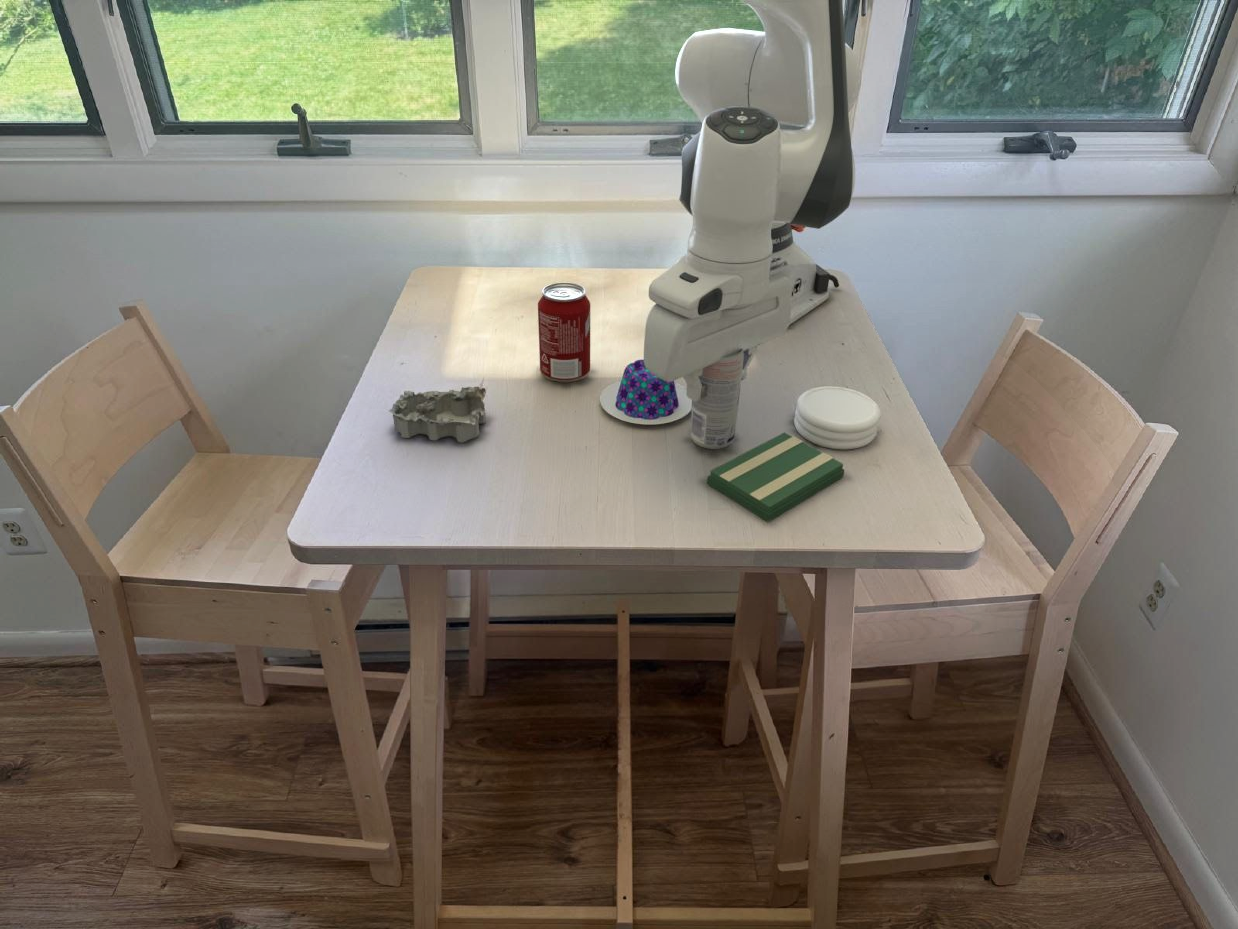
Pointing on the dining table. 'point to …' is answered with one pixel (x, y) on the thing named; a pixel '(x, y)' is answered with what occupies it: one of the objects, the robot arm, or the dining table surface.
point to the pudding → (645, 397)
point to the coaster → (837, 417)
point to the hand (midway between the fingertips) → (716, 388)
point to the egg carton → (440, 413)
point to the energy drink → (718, 403)
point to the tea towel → (775, 476)
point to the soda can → (564, 332)
